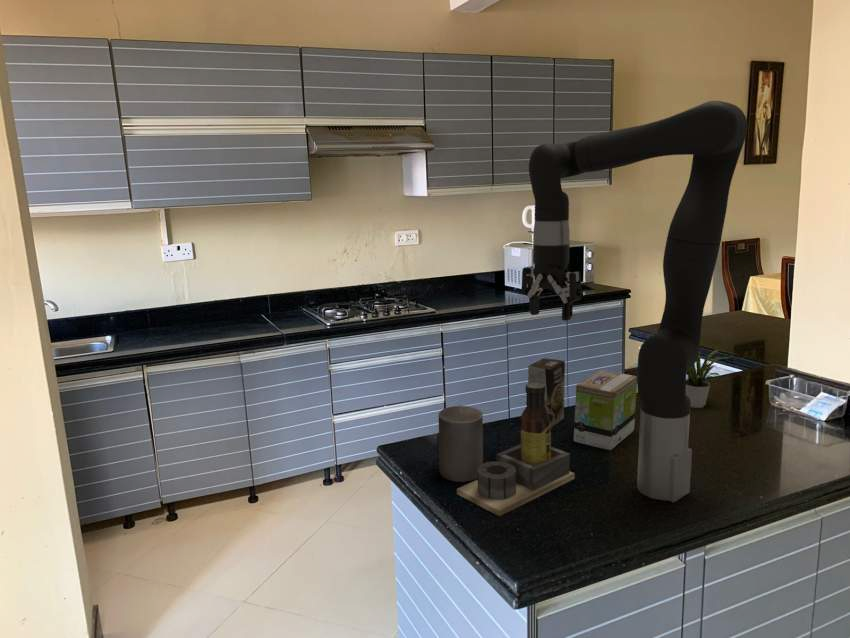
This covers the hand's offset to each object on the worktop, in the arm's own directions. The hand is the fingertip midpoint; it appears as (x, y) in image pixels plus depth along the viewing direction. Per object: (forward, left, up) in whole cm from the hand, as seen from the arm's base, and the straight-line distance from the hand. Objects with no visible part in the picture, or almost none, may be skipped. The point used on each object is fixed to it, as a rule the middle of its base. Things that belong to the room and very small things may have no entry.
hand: (550, 317), depth 139 cm
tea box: (-1, -20, -34) cm, 39 cm away
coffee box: (+15, -17, -34) cm, 41 cm away
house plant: (-6, -57, -34) cm, 67 cm away
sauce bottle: (-4, +10, -32) cm, 34 cm away
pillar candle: (+9, +18, -34) cm, 39 cm away
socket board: (-4, +15, -33) cm, 37 cm away
